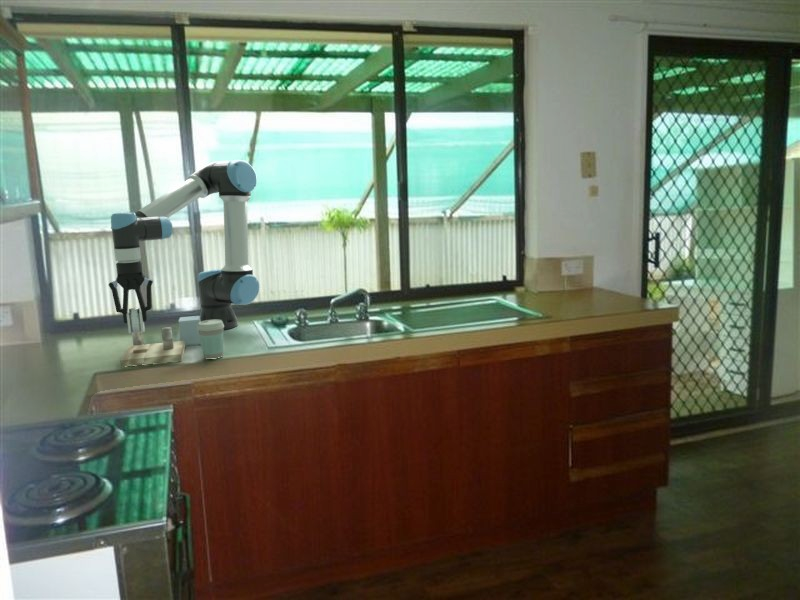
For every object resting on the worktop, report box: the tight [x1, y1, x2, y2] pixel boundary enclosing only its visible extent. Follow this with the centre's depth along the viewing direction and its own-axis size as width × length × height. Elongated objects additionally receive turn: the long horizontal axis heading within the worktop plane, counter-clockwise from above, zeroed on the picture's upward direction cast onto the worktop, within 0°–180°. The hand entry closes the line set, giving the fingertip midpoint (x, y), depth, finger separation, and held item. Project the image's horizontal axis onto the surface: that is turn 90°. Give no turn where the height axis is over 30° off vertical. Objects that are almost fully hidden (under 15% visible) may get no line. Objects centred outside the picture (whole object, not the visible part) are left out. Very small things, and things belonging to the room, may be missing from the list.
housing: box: [178, 315, 202, 347], centre depth 218 cm, size 7×7×9 cm
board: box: [120, 326, 186, 368], centre depth 201 cm, size 18×18×10 cm
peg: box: [128, 307, 144, 346], centre depth 198 cm, size 3×3×12 cm
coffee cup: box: [197, 319, 224, 359], centre depth 198 cm, size 8×8×12 cm
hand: (136, 331), depth 198 cm, fingers closed on peg, 3 cm apart
